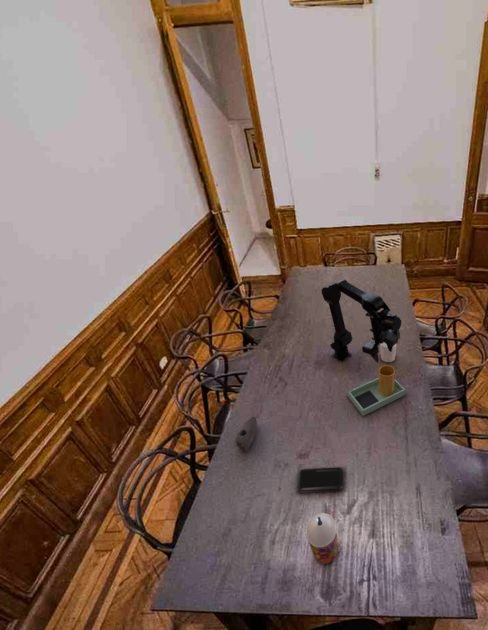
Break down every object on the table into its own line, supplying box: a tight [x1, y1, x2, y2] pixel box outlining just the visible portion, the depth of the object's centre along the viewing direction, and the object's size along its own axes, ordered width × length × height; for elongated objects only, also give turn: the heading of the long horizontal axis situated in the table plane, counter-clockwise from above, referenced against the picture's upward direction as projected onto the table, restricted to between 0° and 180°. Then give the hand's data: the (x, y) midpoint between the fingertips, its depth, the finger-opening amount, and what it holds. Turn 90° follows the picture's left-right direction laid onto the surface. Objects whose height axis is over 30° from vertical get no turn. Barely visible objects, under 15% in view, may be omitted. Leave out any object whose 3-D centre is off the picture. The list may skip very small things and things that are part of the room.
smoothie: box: [305, 513, 338, 565], centre depth 93 cm, size 8×8×20 cm
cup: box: [378, 364, 396, 397], centre depth 146 cm, size 7×7×12 cm
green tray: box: [347, 377, 406, 417], centre depth 147 cm, size 21×12×4 cm, turn 120°
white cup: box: [379, 342, 397, 363], centre depth 165 cm, size 8×8×10 cm
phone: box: [297, 466, 344, 494], centre depth 117 cm, size 8×1×15 cm
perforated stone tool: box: [235, 416, 258, 453], centre depth 130 cm, size 15×5×7 cm, turn 172°
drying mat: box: [354, 390, 379, 409], centre depth 145 cm, size 8×8×1 cm
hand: (384, 356), depth 148 cm, fingers open, 9 cm apart
